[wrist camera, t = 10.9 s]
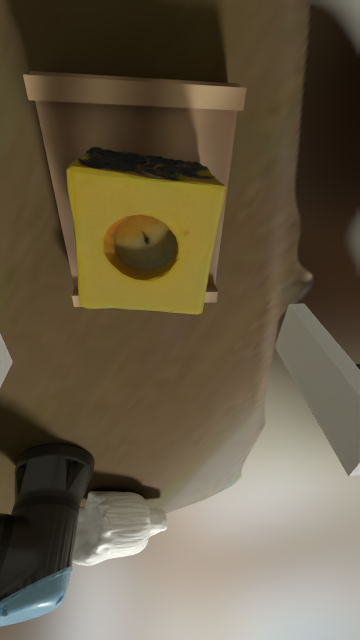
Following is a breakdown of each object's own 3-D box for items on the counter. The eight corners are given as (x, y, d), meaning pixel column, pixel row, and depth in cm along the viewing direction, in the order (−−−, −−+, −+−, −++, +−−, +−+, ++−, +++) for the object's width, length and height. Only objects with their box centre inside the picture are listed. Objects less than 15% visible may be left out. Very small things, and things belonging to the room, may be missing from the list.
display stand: (82, 283, 36) (74, 308, 32) (43, 75, 24) (21, 68, 20) (206, 280, 38) (216, 304, 33) (228, 86, 26) (247, 82, 21)
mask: (150, 500, 83) (63, 498, 72) (177, 486, 76) (84, 481, 64) (153, 561, 74) (53, 571, 62) (183, 553, 66) (76, 562, 54)
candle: (187, 264, 32) (204, 317, 24) (93, 257, 30) (77, 312, 22) (204, 160, 26) (234, 185, 18) (87, 144, 24) (63, 164, 16)
